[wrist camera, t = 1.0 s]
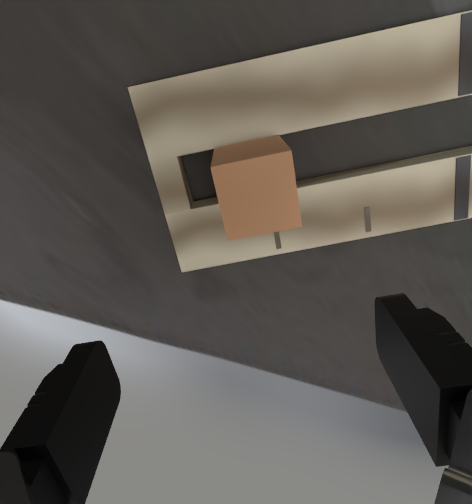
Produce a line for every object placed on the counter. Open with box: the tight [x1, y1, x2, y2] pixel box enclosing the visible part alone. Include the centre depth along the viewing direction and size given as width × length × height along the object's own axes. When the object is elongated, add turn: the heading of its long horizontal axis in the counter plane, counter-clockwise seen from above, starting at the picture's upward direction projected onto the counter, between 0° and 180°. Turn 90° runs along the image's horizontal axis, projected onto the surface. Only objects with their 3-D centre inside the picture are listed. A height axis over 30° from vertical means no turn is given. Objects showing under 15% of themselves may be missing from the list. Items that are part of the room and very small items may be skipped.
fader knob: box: [210, 135, 302, 241], centre depth 26 cm, size 4×4×9 cm
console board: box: [128, 10, 472, 272], centre depth 28 cm, size 14×30×2 cm, turn 101°
